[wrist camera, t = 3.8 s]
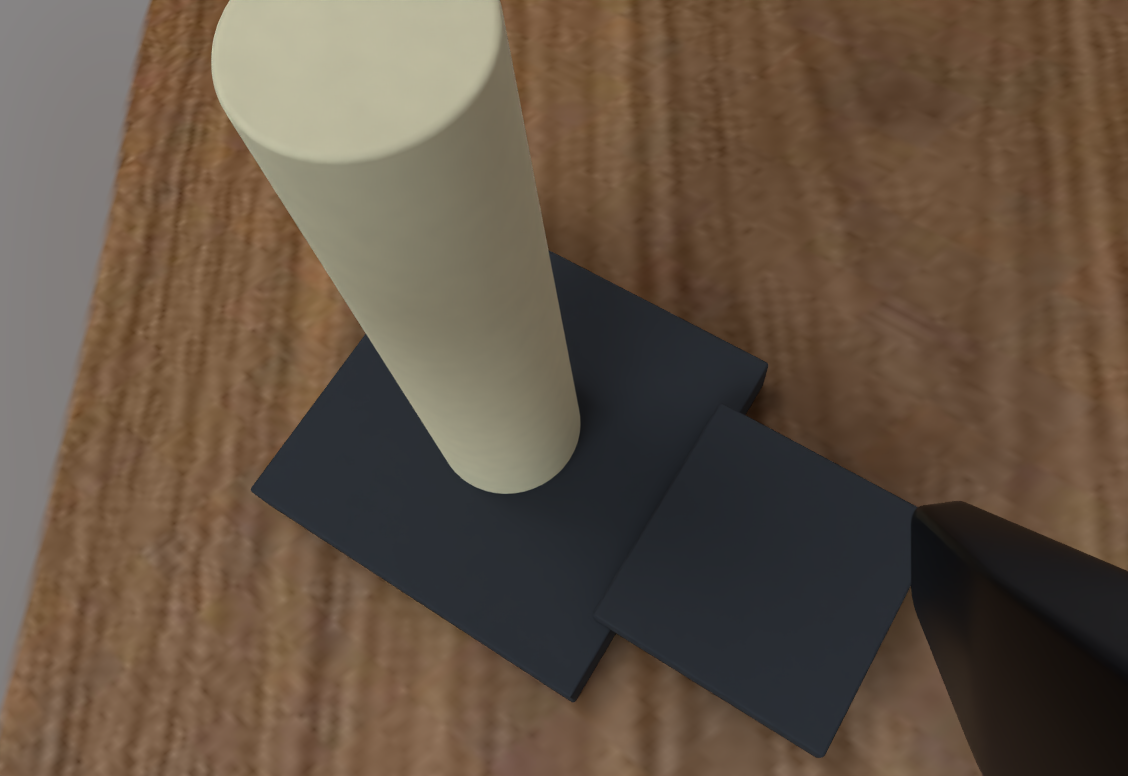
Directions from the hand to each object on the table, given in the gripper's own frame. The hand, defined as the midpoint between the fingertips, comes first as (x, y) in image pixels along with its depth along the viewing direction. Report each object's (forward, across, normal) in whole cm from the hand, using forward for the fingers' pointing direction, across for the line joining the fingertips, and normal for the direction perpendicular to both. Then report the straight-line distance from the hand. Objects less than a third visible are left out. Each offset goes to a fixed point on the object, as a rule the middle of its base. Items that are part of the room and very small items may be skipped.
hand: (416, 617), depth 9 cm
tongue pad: (+11, -2, +5) cm, 13 cm away
